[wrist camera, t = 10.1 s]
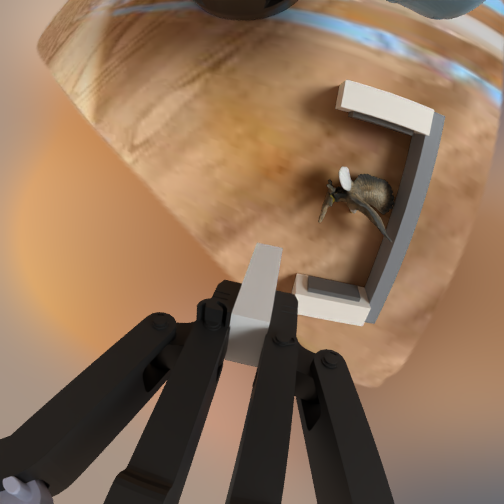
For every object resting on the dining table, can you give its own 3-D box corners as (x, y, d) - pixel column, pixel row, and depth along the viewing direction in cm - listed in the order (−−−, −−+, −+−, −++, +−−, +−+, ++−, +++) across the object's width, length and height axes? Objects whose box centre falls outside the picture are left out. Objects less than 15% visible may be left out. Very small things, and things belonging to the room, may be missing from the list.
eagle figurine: (317, 230, 35) (386, 250, 33) (317, 214, 28) (402, 238, 26) (331, 175, 36) (396, 193, 34) (333, 149, 29) (412, 171, 27)
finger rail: (339, 85, 28) (345, 79, 24) (431, 115, 27) (449, 116, 23) (291, 291, 41) (290, 312, 36) (369, 306, 40) (375, 328, 35)
